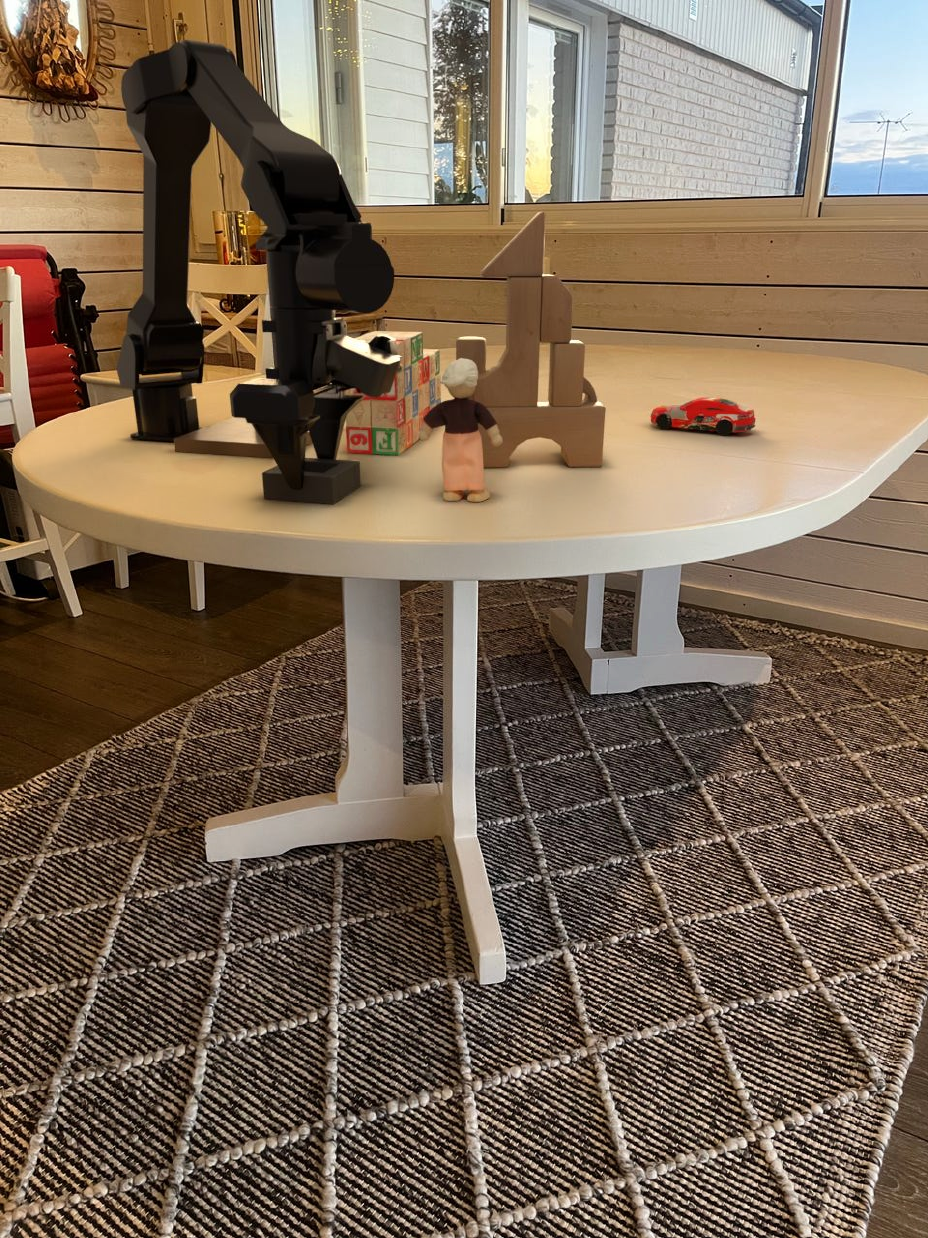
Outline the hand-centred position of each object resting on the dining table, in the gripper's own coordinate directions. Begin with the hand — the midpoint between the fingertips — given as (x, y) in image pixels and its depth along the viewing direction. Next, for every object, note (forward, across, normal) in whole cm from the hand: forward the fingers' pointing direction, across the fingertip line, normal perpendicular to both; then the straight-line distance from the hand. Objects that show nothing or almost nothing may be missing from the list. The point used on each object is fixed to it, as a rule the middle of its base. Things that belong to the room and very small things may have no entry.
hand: (312, 479), depth 87 cm
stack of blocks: (+1, +28, +1) cm, 28 cm away
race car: (+1, +43, -35) cm, 55 cm away
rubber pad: (+1, 0, 0) cm, 1 cm away
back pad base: (+1, +21, +16) cm, 26 cm away
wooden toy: (+1, +19, -17) cm, 26 cm away
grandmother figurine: (+1, +2, -14) cm, 14 cm away
